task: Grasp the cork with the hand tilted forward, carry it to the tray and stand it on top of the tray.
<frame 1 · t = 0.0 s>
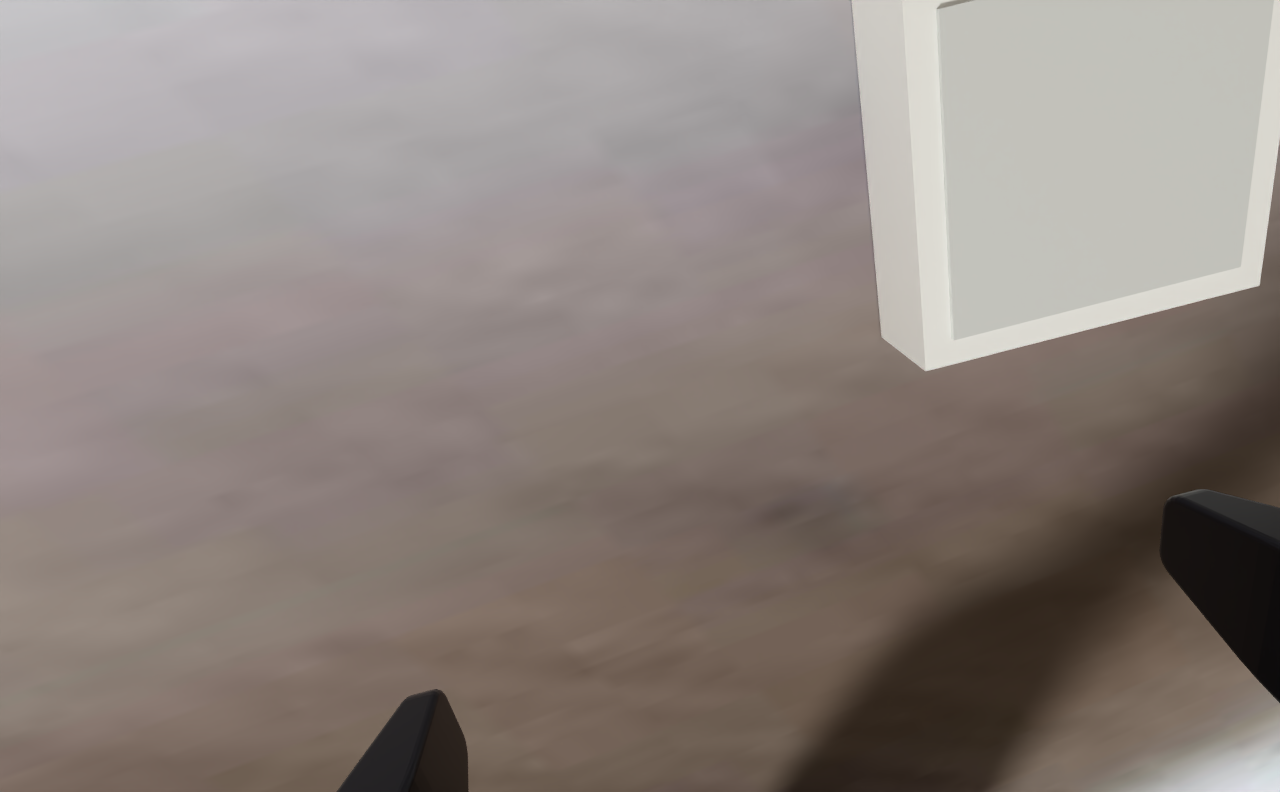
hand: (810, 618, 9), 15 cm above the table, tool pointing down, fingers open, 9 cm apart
tray: (1030, 140, 22), on the table
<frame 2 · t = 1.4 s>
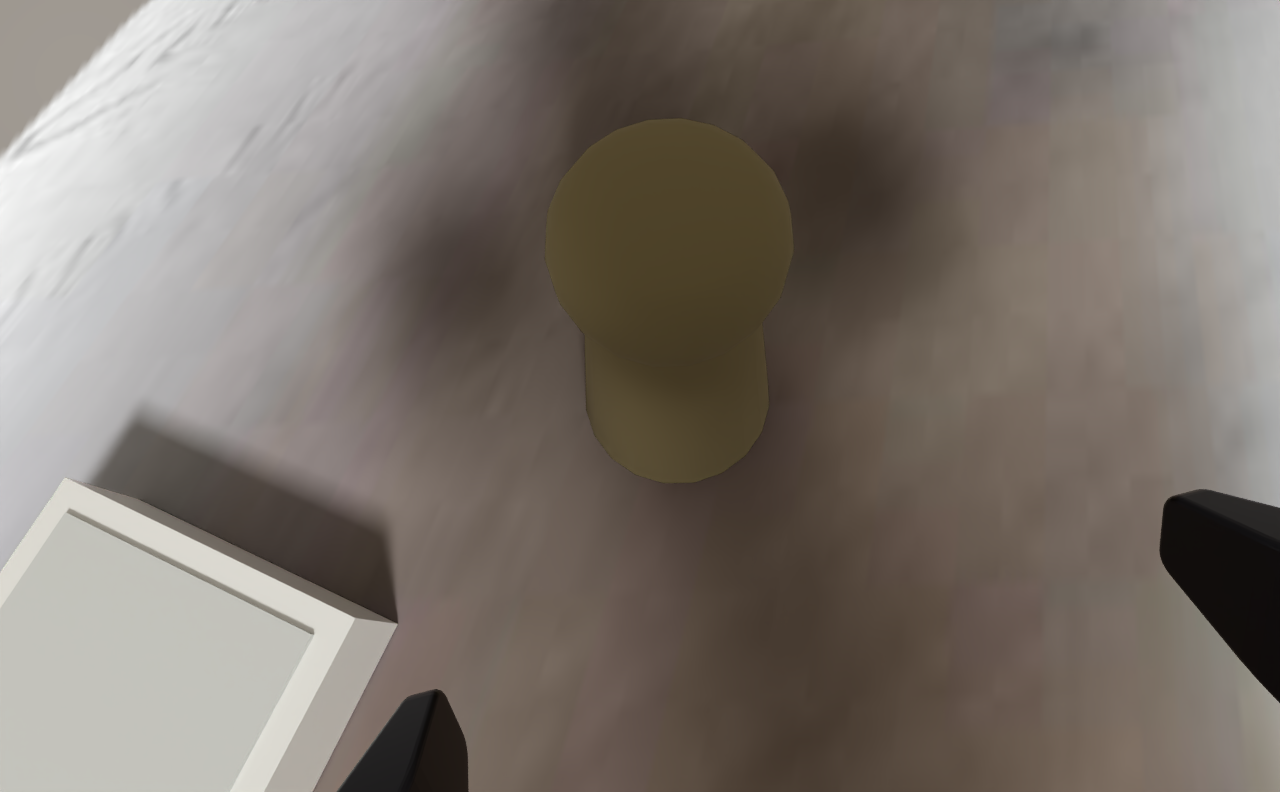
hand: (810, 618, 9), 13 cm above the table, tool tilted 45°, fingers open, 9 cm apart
cork: (676, 395, 25), on the table
tray: (170, 717, 22), on the table
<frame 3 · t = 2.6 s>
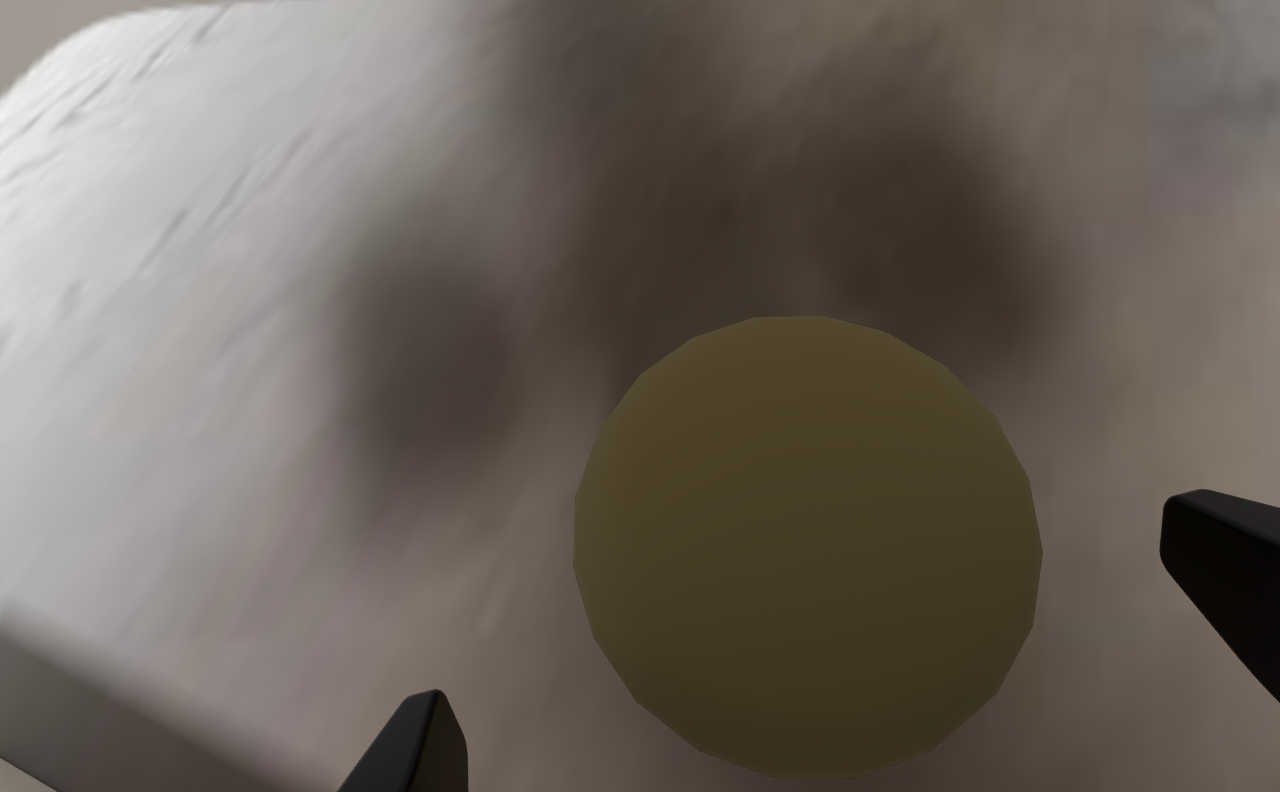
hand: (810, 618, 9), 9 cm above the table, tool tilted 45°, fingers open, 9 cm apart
cork: (744, 604, 18), on the table
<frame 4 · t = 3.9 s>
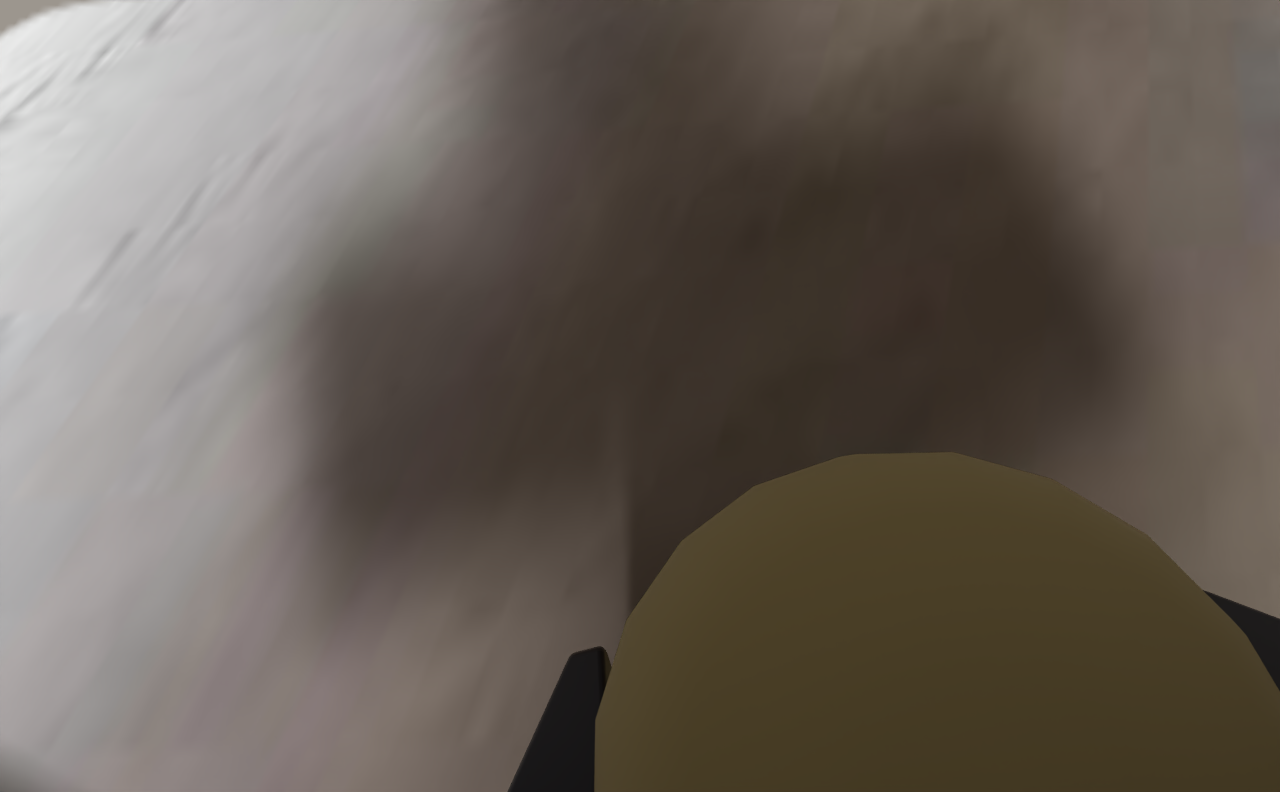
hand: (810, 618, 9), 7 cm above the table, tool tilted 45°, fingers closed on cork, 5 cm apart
cork: (782, 709, 15), on the table, touching gripper
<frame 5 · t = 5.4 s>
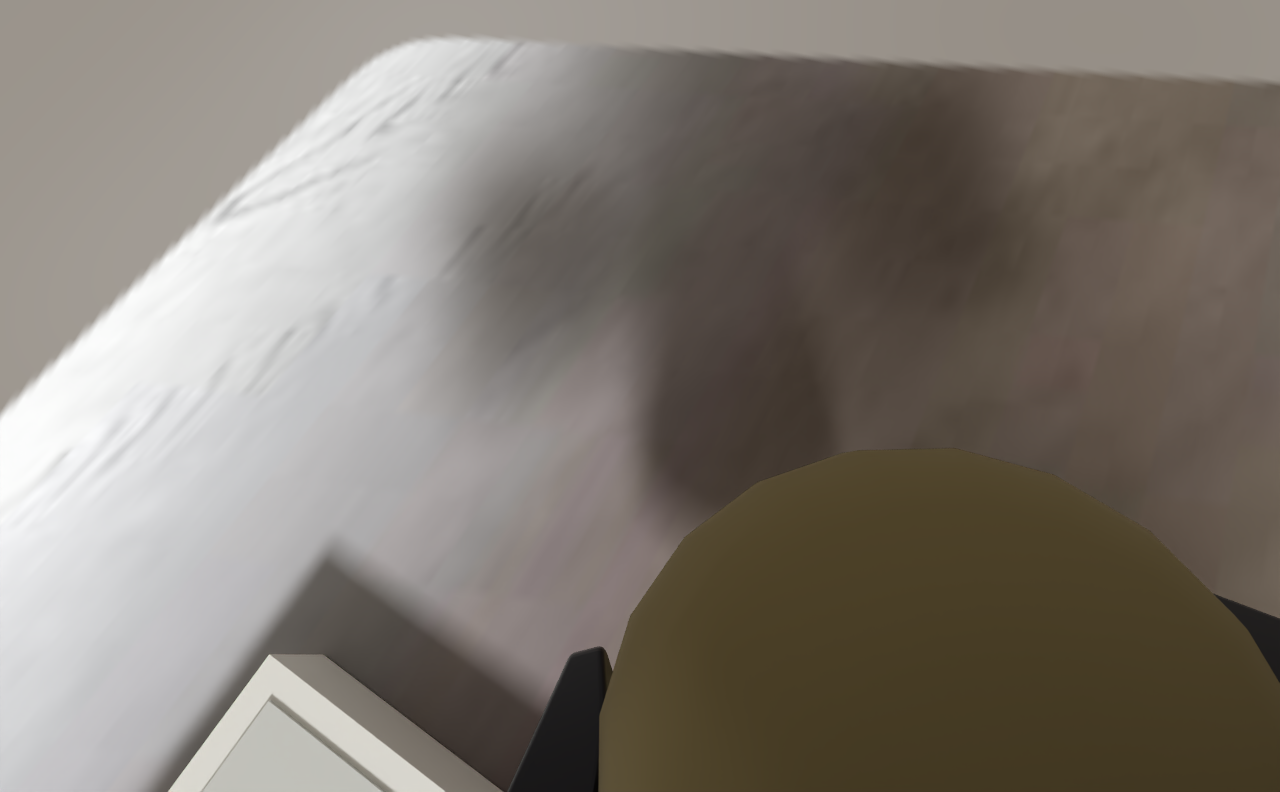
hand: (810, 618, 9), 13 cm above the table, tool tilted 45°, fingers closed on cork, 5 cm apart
cork: (785, 705, 15), point 6 cm above the table, touching gripper
when the fingers open (10 cm above the table, at t = 7.2 s): cork stays where it is, resting on tray.
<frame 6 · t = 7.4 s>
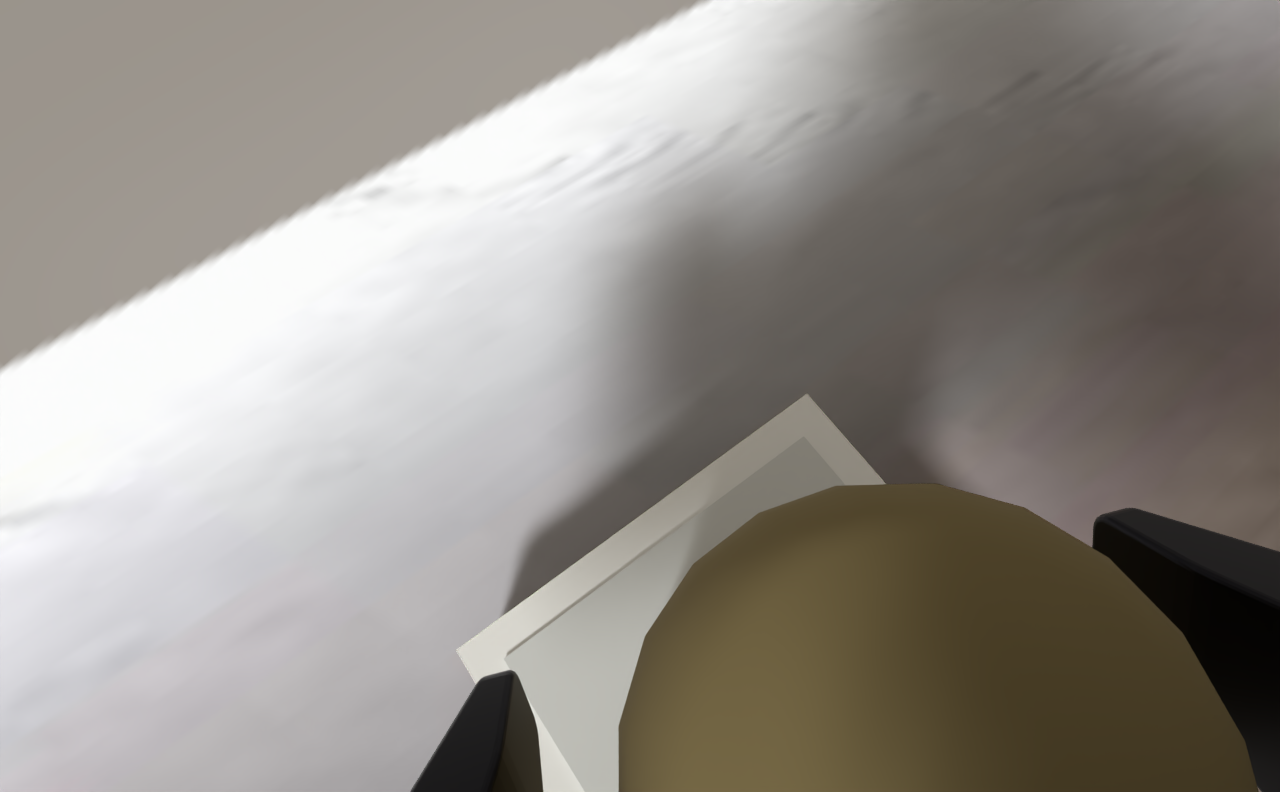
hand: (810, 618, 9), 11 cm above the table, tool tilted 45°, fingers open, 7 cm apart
cork: (783, 711, 16), point 3 cm above the table, touching tray
tray: (764, 700, 18), on the table
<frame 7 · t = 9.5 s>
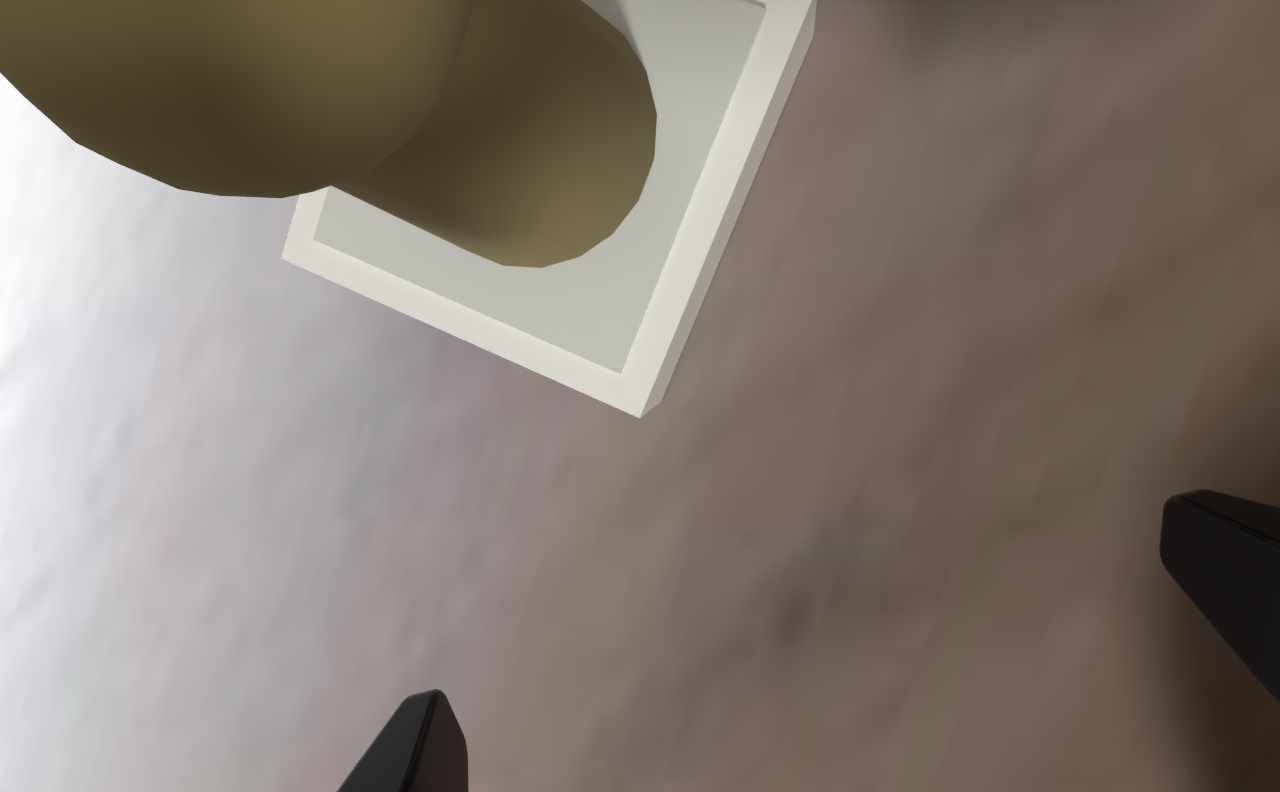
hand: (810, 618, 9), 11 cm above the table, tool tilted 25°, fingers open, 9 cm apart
cork: (530, 136, 17), point 3 cm above the table, touching tray
tray: (562, 159, 20), on the table
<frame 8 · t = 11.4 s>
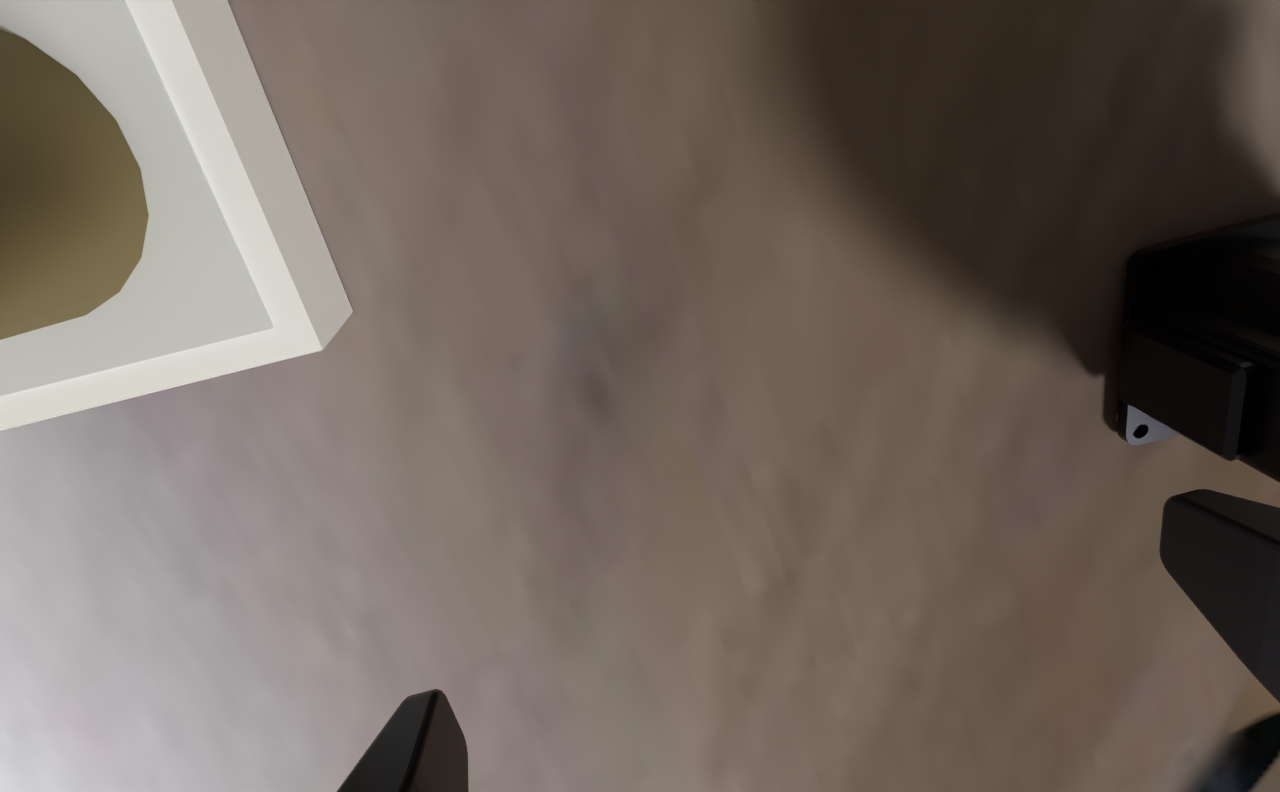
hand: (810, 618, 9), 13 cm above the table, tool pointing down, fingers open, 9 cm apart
tray: (68, 167, 18), on the table
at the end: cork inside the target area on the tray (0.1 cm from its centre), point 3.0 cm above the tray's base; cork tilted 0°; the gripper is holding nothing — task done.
